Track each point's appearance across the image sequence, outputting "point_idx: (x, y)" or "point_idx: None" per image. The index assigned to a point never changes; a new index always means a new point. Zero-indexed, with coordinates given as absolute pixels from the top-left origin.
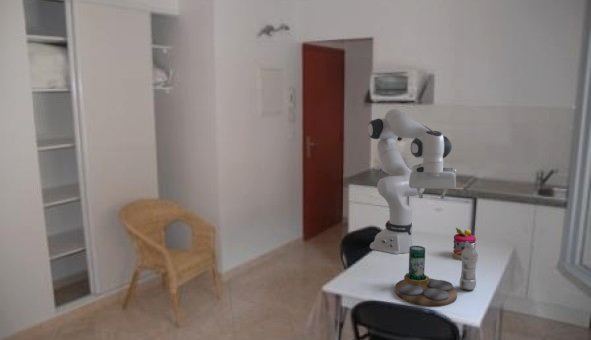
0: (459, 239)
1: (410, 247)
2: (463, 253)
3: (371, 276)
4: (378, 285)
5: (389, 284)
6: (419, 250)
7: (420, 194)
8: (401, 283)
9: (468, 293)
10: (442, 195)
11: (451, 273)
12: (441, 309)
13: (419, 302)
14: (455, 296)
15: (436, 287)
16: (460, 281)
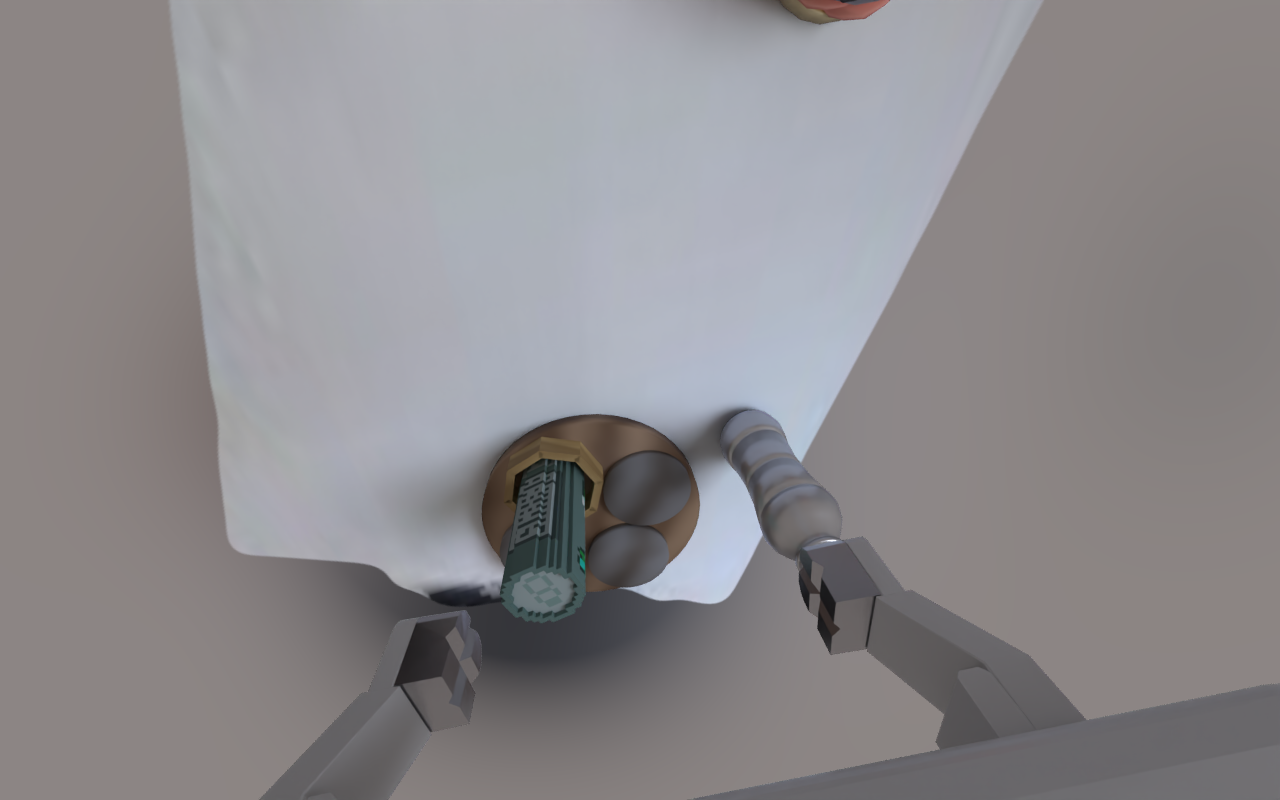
0: None
1: (506, 600)
2: (772, 547)
3: (347, 416)
4: (411, 490)
5: (450, 471)
6: (557, 619)
7: (421, 735)
8: (499, 500)
9: None
10: (848, 641)
11: (707, 280)
12: None
13: None
14: (690, 536)
15: (631, 520)
16: (725, 456)
